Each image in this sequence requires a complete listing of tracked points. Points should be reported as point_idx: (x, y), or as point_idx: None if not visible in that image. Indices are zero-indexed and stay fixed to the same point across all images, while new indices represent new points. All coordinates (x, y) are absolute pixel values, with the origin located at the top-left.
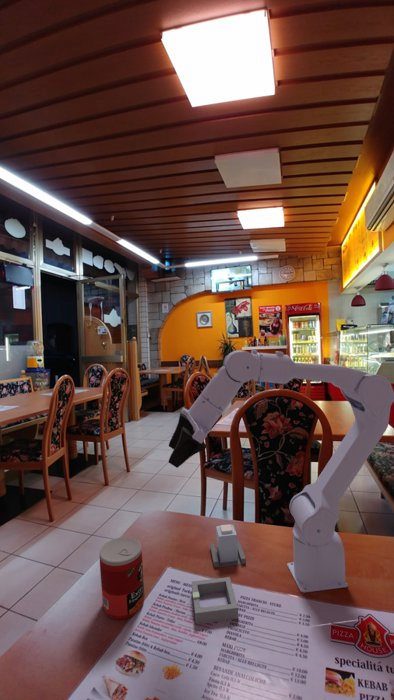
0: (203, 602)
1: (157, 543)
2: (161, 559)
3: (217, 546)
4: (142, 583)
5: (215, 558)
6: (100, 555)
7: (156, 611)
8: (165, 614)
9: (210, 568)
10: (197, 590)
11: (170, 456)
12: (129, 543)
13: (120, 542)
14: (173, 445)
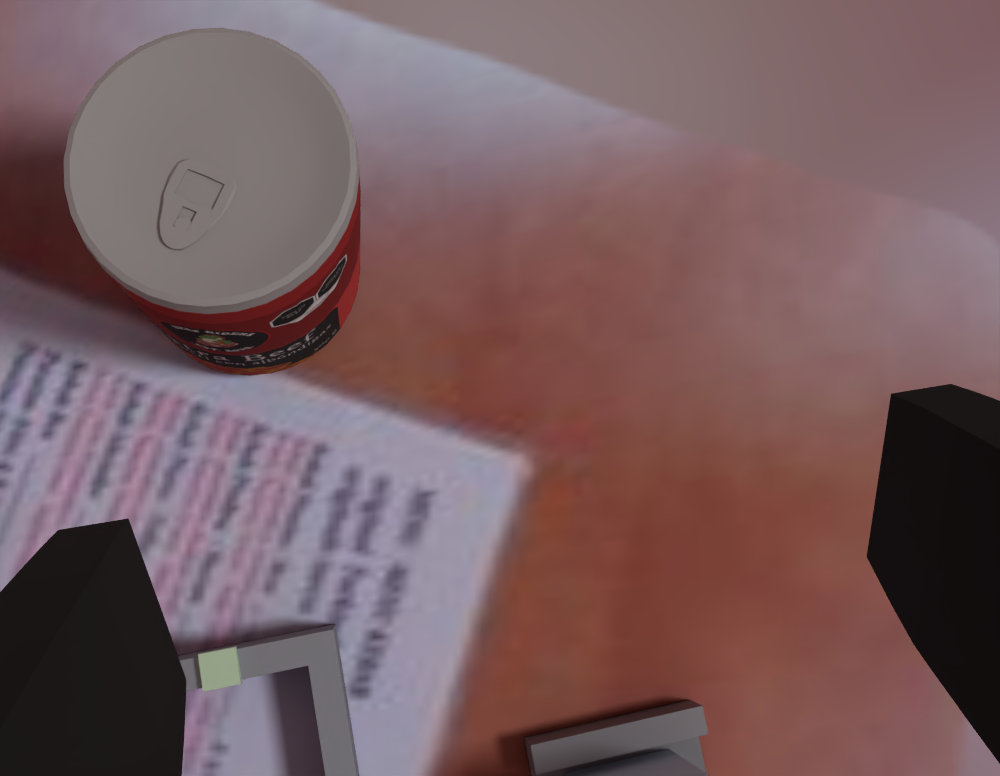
0: (264, 694)
1: (730, 358)
2: (589, 408)
3: (665, 762)
4: (228, 355)
5: (563, 752)
6: (145, 46)
7: (207, 450)
8: (187, 500)
9: (522, 713)
10: (264, 671)
11: (58, 576)
12: (296, 210)
13: (307, 144)
14: (922, 502)
